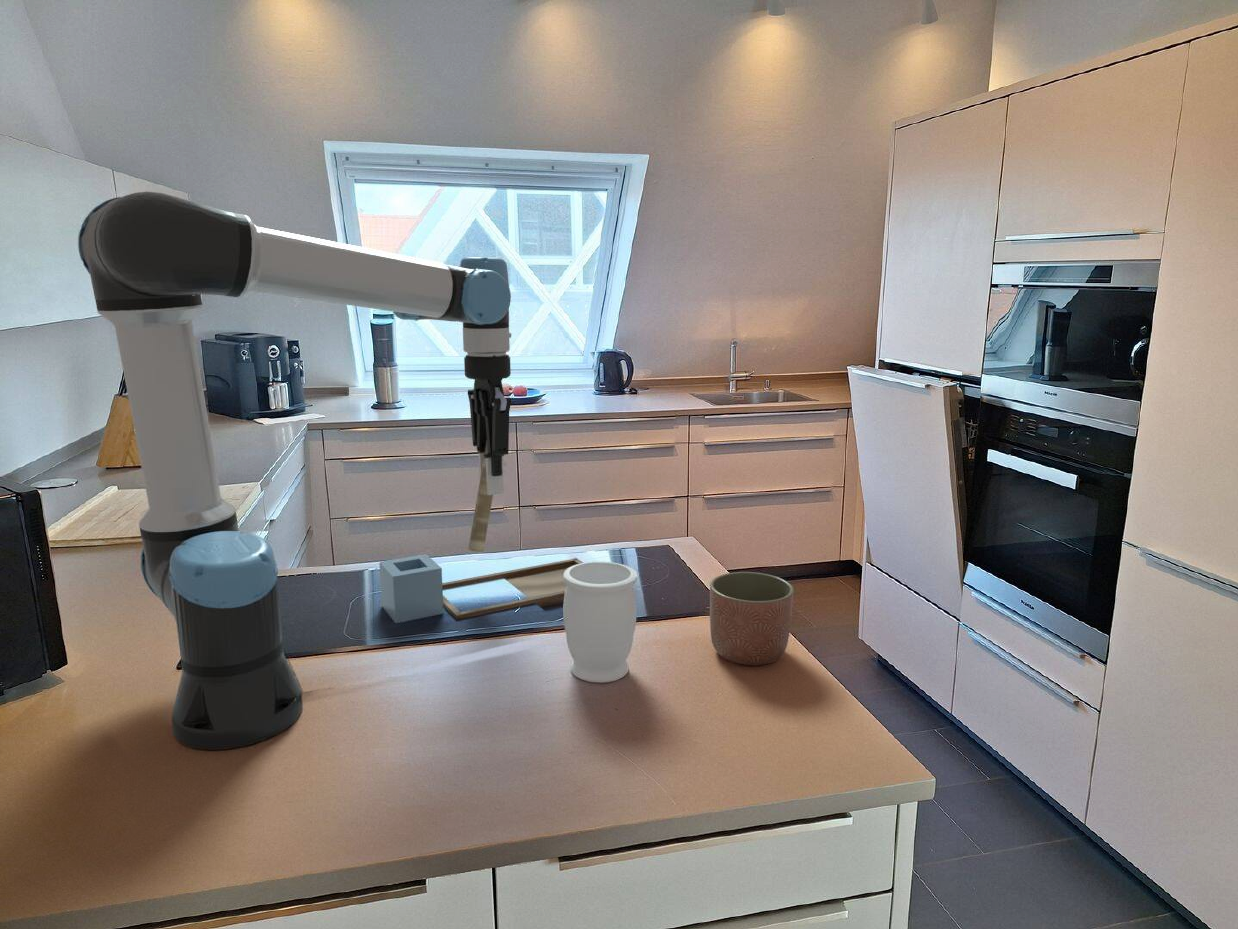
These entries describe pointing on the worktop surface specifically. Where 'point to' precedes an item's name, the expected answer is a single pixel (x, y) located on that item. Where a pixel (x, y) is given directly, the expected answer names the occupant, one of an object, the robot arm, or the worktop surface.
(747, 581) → the planter
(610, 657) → the jar
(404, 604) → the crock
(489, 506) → the dowel
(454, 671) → the worktop surface
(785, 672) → the worktop surface
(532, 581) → the tray
